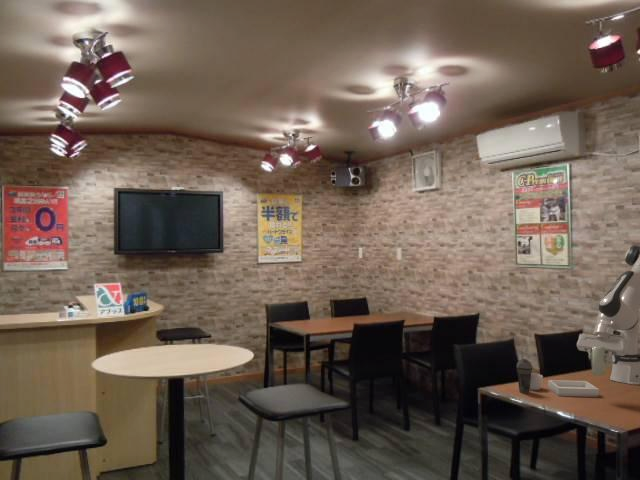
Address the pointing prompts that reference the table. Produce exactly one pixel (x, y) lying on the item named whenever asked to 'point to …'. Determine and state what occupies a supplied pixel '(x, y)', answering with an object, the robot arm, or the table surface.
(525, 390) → the beverage cup
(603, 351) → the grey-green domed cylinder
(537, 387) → the candle
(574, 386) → the tray
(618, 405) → the table surface
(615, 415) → the table surface
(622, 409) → the table surface
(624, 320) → the robot arm
